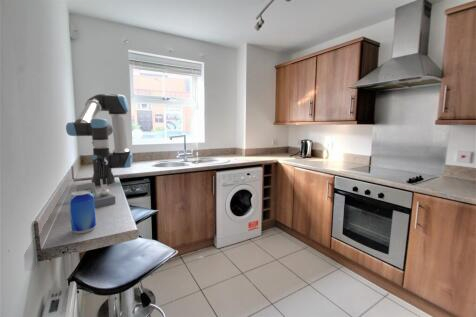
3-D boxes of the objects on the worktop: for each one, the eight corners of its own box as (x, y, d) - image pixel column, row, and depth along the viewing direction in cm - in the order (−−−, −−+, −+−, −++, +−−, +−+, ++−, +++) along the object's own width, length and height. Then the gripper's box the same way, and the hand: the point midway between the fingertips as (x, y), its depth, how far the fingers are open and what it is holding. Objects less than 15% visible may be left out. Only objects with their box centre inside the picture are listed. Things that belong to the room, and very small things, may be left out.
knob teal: (94, 202, 127) (93, 192, 126) (97, 204, 124) (96, 194, 123) (85, 204, 123) (84, 194, 123) (88, 206, 121) (87, 196, 120)
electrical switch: (79, 201, 130) (77, 185, 129) (76, 200, 133) (74, 184, 132) (97, 197, 137) (95, 182, 136) (94, 197, 140) (92, 182, 140)
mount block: (106, 198, 135) (106, 192, 135) (115, 203, 128) (115, 196, 127) (81, 204, 125) (80, 197, 125) (89, 209, 118) (88, 202, 117)
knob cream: (107, 197, 132) (106, 188, 131) (110, 199, 129) (110, 190, 128) (99, 199, 129) (98, 190, 128) (102, 201, 126) (101, 191, 125)
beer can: (93, 223, 101) (90, 188, 99) (98, 230, 95) (95, 192, 93) (70, 229, 96) (66, 192, 93) (73, 236, 90) (69, 196, 87)
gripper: (88, 147, 126) (92, 189, 129) (98, 148, 118) (101, 193, 121) (103, 146, 132) (106, 186, 135) (113, 147, 124) (116, 190, 127)
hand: (104, 189), depth 128 cm, fingers closed
